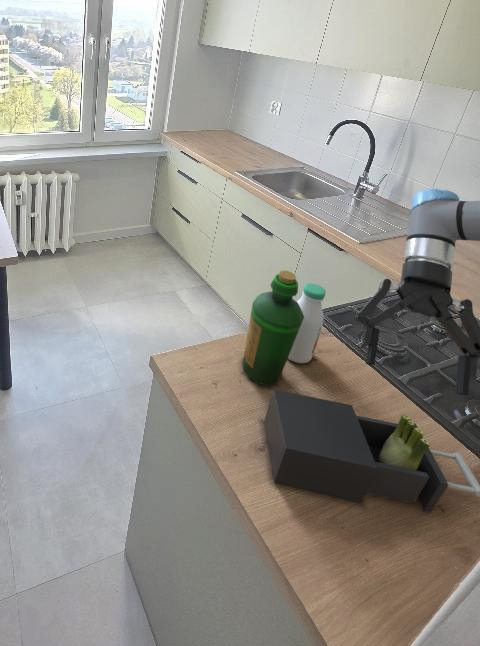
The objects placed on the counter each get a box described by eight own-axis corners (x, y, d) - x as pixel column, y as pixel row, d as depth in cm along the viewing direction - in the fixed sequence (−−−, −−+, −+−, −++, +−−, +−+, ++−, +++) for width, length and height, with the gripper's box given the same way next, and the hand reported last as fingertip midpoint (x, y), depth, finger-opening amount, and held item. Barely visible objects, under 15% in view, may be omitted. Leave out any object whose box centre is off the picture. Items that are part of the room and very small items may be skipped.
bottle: (254, 348, 107) (278, 255, 95) (293, 376, 99) (325, 279, 87) (228, 367, 101) (251, 270, 89) (267, 398, 93) (297, 297, 82)
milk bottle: (303, 369, 101) (325, 303, 93) (273, 351, 106) (291, 286, 98) (316, 353, 106) (338, 289, 98) (287, 337, 111) (305, 274, 103)
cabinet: (338, 437, 85) (352, 404, 81) (360, 503, 74) (377, 468, 70) (263, 421, 88) (273, 389, 84) (273, 482, 76) (285, 448, 72)
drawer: (445, 459, 81) (461, 432, 78) (482, 524, 71) (502, 496, 67) (328, 434, 84) (339, 408, 81) (346, 493, 74) (360, 465, 71)
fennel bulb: (410, 490, 74) (436, 446, 69) (378, 478, 76) (401, 434, 71) (403, 461, 79) (426, 417, 74) (374, 450, 81) (394, 407, 76)
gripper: (498, 289, 79) (491, 407, 72) (349, 253, 88) (331, 354, 82) (522, 281, 72) (517, 409, 66) (358, 243, 82) (339, 351, 76)
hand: (414, 378), depth 74 cm, fingers open, 13 cm apart
